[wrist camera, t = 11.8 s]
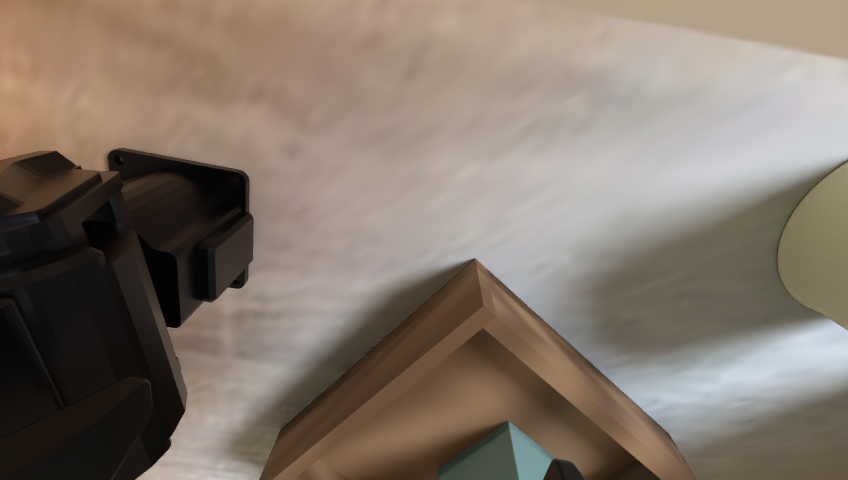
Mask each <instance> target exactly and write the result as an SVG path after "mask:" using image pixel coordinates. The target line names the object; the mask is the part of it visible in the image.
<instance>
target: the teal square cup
mask: <svg viewBox="0 0 848 480" xmlns="http://www.w3.org/2000/svg"><path fill="white" fill-rule="evenodd" d="M553 459H555V457H554V456H553V455H551V454H550V453H549V452H547V451H546V450H545V449H544V448H542V447H541V446H540V445H539V444H537V443H536V442H535V441H533V440H532V439H531V438H530V437H528V436H527V435H526V434H524V433H523V432H522V431H521V430H519V429H518V428H517V427H516V426H514V425H513V424H512V423H510V422H509V421H507V422H505V423H504V424H502V425H501V426H499V427H498V428H497V429H495V430H494V431H492V432H491V433H489V434H488V435H486V436H485V437H484V438H482V439H481V440H479V441H478V442H476V443H475V444H473V445H472V446H470V447H469V448H468V449H466V450H465V451H463V452H462V453H460V454H459V455H457V456H456V457H455V458H453V459H452V460H450V461H449V462H447V463H446V464H444V465H443V466H441V467H440V468H439V469H438V480H543V478H544V476H545V474H546V472H547V469H548V467H549V465H550V463H551V461H552V460H553Z"/></svg>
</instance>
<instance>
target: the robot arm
mask: <svg viewBox="0 0 848 480" xmlns="http://www.w3.org/2000/svg"><path fill="white" fill-rule="evenodd" d="M120 156H122V157H123V158H124V161H125V162H124V163H123V162H122V161H121V160H120V158H119V157H120ZM108 160H109V168H110V171H92V170H82V169H81V166H76V165H75V164H73V163H72V162H71V161H69V160H68V159H67V158H65V157H64V156H63V155H61V154H60V153H59V152H57V151H37V152H33V153H29V154H25V155H20V156H16V157H12V158H8V159H4V160H0V480H135V479H137V478H138V477H139V476H141V475H142V474H143V473H144V472H146V471H147V470H148V469H150V468H151V467H152V466H153V465H154V464H155V463H156V462H157V461H158V460H159V459H160V458H161V457H162V456H163V455H164V454H165V452H166V451H167V450H168V449H169V448H170V446H171V439H170V437H171V435H172V434H173V432H174V431H175V429H176V427H177V425H178V423H179V422H180V420H181V418H182V416H183V414H184V412H185V409H186V400H187V390H186V387H185V384H184V380H183V377H182V374H181V371H180V370H181V367H180V363H179V360H178V358H177V357H176V355H175V352H174V349H173V346H172V343H171V339H170V336H169V333H168V330H167V327H172V328H178V327H179V326H181V325H182V324H183V323H184V322H185V320H186V319H187V318H188V317H189V316H190V315H191V314H192V313H193V312H194V311H195V310H196V309H197V308H198V307H199V306H200V305H201V304H202V303H203V302H204V301H205V302H213V301H214V300H216V299H217V298H218V297H219V296H220V295H221V294H222V293H223V292H224V291H225V290H226V288H227V287H230V288H235V289H239V288H242V287H243V286H244V285H245V284H246V282H247V281H248V265H249V263H250V262H251V261H252V260H253V217H252V215H251V214H250V213H249V177H248V176H247V174H246V173H245V172H243V171H241V170H238V169H232V168H227V167H222V166H216V165H211V164H206V163H200V162H195V161H190V160H184V159H179V158H174V157H168V156H163V155H158V154H152V153H147V152H142V151H136V150H131V149H126V148H119V149H115V150H113V151H111V152H110V153H109V156H108ZM234 177H237V178H239V179H240V181H241V184H240V185H239V184H236V182H235V181H234ZM237 277H238V278H239V279H240V281H238V280H236V278H237ZM543 480H586V479H585V478H584V476H583V475H582V474H581V472H580V471H579V470H578V468H577V467H576V466H575V464H574V463H572V462H571V461H568V460H562V459H557V458H555V459H553V460H552V461H551V463H550V465H549V467H548V469H547V472H546V474H545V476H544V478H543Z"/></svg>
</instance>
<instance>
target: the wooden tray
mask: <svg viewBox="0 0 848 480" xmlns="http://www.w3.org/2000/svg"><path fill="white" fill-rule="evenodd" d="M507 421H509V422H510V423H512V424H513V425H514V426H516V427H517V428H518V429H519V430H521V431H522V432H523V433H524V434H526V435H527V436H528V437H530V438H531V439H532V440H533V441H535V442H536V443H537V444H539V445H540V446H541V447H542V448H544V449H545V450H546V451H547V452H549V453H550V454H551V455H553V456H554V457H555V458H557V459H562V460H568V461H571V462H572V463H574V464H575V466H576V467H577V468H578V470H579V471H580V472H581V474H582V475H583V476H584V478H585V479H586V480H696V478H695V476H694V475H693V473H692V471H691V470H690V468H689V466H688V465H687V463H686V461H685V460H684V458H683V456H682V455H681V453H680V451H679V450H678V448H677V447H676V445H675V443H674V442H673V440H672V438H671V437H670V435H669V434H668V433H667V432H666V431H665V430H664V429H663V428H662V427H661V426H660V425H659V424H657V423H656V422H655V421H654V420H653V419H652V418H651V417H650V416H649V415H647V414H646V413H645V412H644V411H643V410H642V409H641V408H640V407H639V406H638V405H636V404H635V403H634V402H633V401H632V400H631V399H630V398H629V397H628V396H627V395H625V394H624V393H623V392H622V391H621V390H620V389H619V388H618V387H617V386H615V385H614V384H613V383H612V382H611V381H610V380H609V379H608V378H607V377H606V376H604V375H603V374H602V373H601V372H600V371H599V370H598V369H597V368H596V367H595V366H593V365H592V364H591V363H590V362H589V361H588V360H587V359H586V358H585V357H583V356H582V355H581V354H580V353H579V352H578V351H577V350H576V349H575V348H574V347H572V346H571V345H570V344H569V343H568V342H567V341H566V340H565V339H564V338H563V337H561V336H560V335H559V334H558V333H557V332H556V331H555V330H554V329H553V328H551V327H550V326H549V325H548V324H547V323H546V322H545V321H544V320H543V319H542V318H540V317H539V316H538V315H537V314H536V313H535V312H534V311H533V310H532V309H531V308H529V307H528V306H527V305H526V304H525V303H524V302H523V301H522V300H521V299H519V298H518V297H517V296H516V295H515V294H514V293H513V292H512V291H511V290H510V289H508V288H507V287H506V286H505V285H504V284H503V283H502V282H501V281H500V280H499V279H497V278H496V277H495V276H494V275H493V274H492V273H491V272H490V271H489V270H487V269H486V268H485V267H484V266H483V265H482V264H481V263H480V262H479V261H478V260H476V259H474V260H473V261H472V262H471V263H470V264H469V265H468V266H466V267H465V268H464V269H463V270H462V271H461V272H460V273H458V274H457V275H456V276H455V277H454V278H453V279H452V280H450V281H449V282H448V283H447V284H446V285H445V286H444V287H443V288H441V289H440V290H439V291H438V292H437V293H436V294H435V295H433V296H432V297H431V298H430V299H429V300H428V301H427V302H425V303H424V304H423V305H422V306H421V307H420V308H419V309H418V310H416V311H415V312H414V313H413V314H412V315H411V316H410V317H408V318H407V319H406V320H405V321H404V322H403V323H402V324H400V325H399V326H398V327H397V328H396V329H395V330H394V331H392V332H391V333H390V334H389V335H388V336H387V337H386V338H385V339H383V340H382V341H381V342H380V343H379V344H378V345H377V346H375V347H374V348H373V349H372V350H371V351H370V352H369V353H367V354H366V355H365V356H364V357H363V358H362V359H361V360H360V361H358V362H357V363H356V364H355V365H354V366H353V367H352V368H350V369H349V370H348V371H347V372H346V373H345V374H344V375H342V376H341V377H340V378H339V379H338V380H337V381H336V382H335V383H333V384H332V385H331V386H330V387H329V388H328V389H327V390H325V391H324V392H323V393H322V394H321V395H320V396H319V397H317V398H316V399H315V400H314V401H313V402H312V403H311V404H310V405H308V406H307V407H306V408H305V409H304V410H303V411H302V412H300V413H299V414H298V415H297V416H296V417H295V418H294V419H292V420H291V421H290V422H289V423H288V424H287V425H286V426H285V427H283V428H282V429H281V430H280V433H279V435H278V437H277V440H276V442H275V444H274V447H273V449H272V451H271V454H270V456H269V458H268V461H267V463H266V465H265V468H264V470H263V472H262V475H261V477H260V479H259V480H438V469H439V468H440V467H441V466H443V465H444V464H446V463H447V462H449V461H450V460H452V459H453V458H455V457H456V456H457V455H459V454H460V453H462V452H463V451H465V450H466V449H468V448H469V447H470V446H472V445H473V444H475V443H476V442H478V441H479V440H481V439H482V438H484V437H485V436H486V435H488V434H489V433H491V432H492V431H494V430H495V429H497V428H498V427H499V426H501V425H502V424H504V423H505V422H507Z"/></svg>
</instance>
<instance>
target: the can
mask: <svg viewBox="0 0 848 480" xmlns="http://www.w3.org/2000/svg"><path fill="white" fill-rule="evenodd" d="M777 261H778V270H779V275H780V278H781V280H782V283H783V284H784V286H785V288H786V289H787V291H788V292H789V293H790V294H791V295H792V297H793V298H795V299H796V300H797V301H798V302H800V303H801V304H803V305H804V306H806V307H808V308H810V309H812V310H815V311H817V312H820V313H821V314H823V315H824V316H826V317H828V318H829V319H831V320H832V321H834V322H836V323H837V324H839V325H840V326H842V327H843V328H845V329H846V330H848V162H847V163H845V164H844V165H842V166H841V167H839V168H838V169H836V170H834V171H833V172H832V173H831V174H829V175H828V176H827V177H825V178H824V179H823V180H822V181H820V182H819V183H818V184H817V185H816V186H815V187H814V188H813V189H812V190H811V191H810V192H809V193H808V194H807V195H806V196H805V197H804V199H803V200H802V201H801V202H800V204H799V205H798V206H797V208H796V209H795V210H794V212H793V213H792V215H791V217H790V219H789V220H788V222H787V224H786V226H785V229H784V231H783V234H782V236H781V240H780V243H779V248H778V257H777Z"/></svg>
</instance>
